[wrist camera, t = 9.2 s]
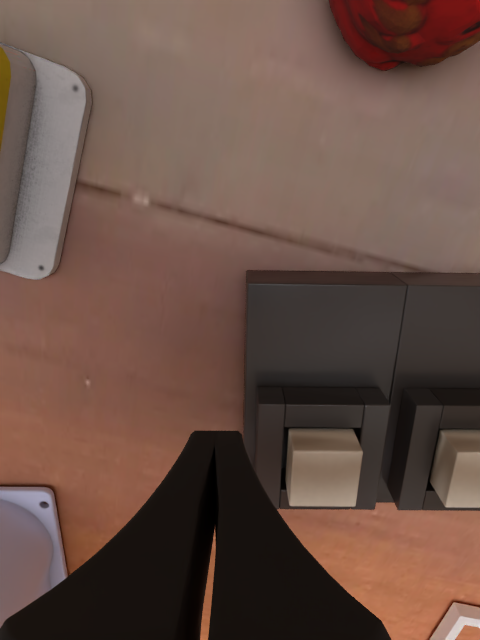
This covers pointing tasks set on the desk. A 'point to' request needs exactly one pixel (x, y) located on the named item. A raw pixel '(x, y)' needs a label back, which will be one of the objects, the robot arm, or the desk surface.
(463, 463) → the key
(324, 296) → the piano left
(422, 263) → the desk surface
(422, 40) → the red clay folk toy
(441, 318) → the dark brown notched block
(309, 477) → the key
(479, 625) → the photo frame
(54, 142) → the emergency button
